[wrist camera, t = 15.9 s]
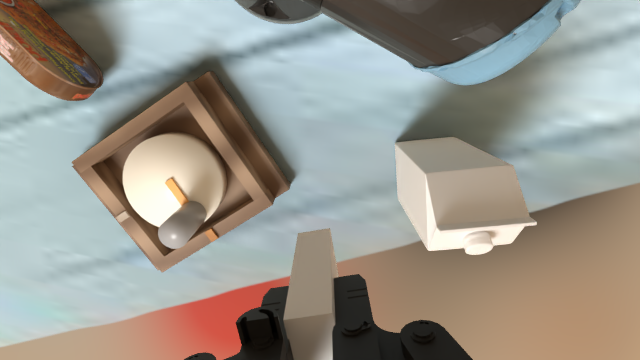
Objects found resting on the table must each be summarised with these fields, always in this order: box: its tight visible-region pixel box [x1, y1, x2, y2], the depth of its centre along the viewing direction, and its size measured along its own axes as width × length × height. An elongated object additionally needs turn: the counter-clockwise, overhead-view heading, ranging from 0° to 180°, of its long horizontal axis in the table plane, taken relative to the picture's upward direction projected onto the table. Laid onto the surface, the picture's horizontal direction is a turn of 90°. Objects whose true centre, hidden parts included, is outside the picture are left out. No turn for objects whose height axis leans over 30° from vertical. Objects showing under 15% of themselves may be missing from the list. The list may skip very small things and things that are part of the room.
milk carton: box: [395, 137, 537, 255], centre depth 38 cm, size 7×7×19 cm
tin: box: [0, 0, 103, 101], centre depth 40 cm, size 15×3×8 cm, turn 41°
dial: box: [123, 132, 227, 249], centre depth 41 cm, size 11×11×8 cm
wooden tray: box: [72, 71, 290, 272], centre depth 45 cm, size 16×20×5 cm
